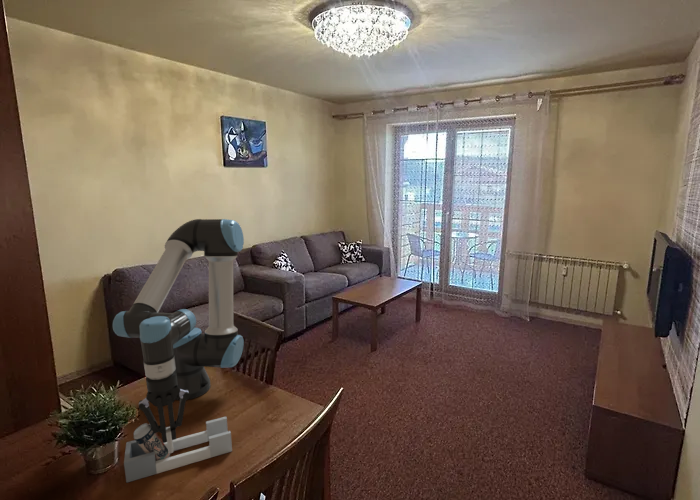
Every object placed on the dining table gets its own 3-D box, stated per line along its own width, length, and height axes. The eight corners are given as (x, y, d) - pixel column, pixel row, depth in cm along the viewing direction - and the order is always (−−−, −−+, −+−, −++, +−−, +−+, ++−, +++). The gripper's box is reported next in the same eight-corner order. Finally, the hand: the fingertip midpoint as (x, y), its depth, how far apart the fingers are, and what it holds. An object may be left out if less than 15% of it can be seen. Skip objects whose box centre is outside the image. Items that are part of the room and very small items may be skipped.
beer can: (164, 467, 107) (141, 435, 103) (150, 468, 109) (128, 437, 105) (174, 451, 111) (153, 421, 107) (161, 452, 113) (140, 422, 109)
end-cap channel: (128, 460, 111) (126, 442, 110) (227, 433, 123) (226, 416, 121) (126, 482, 103) (123, 462, 102) (232, 451, 115) (230, 433, 114)
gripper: (133, 385, 100) (145, 466, 105) (187, 373, 106) (196, 450, 110) (135, 373, 107) (145, 449, 111) (185, 362, 112) (193, 435, 117)
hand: (170, 450), depth 111 cm, fingers closed
